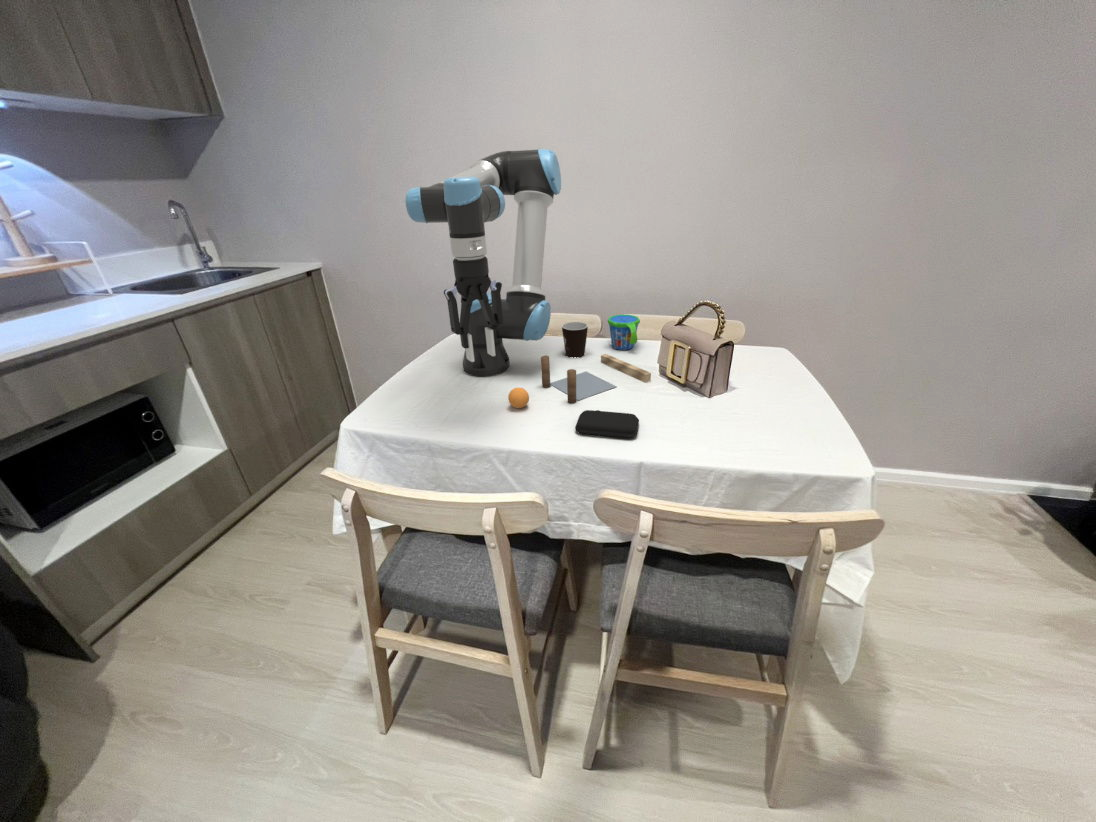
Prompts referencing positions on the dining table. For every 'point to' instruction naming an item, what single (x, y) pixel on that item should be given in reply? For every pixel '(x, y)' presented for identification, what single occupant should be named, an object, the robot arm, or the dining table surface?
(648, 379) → the stopper wall
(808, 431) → the dining table surface
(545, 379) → the left post
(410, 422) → the dining table surface
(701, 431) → the dining table surface
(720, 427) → the dining table surface
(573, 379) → the right post
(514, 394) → the ball
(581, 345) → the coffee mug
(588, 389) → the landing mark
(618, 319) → the snack cup
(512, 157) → the robot arm
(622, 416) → the carrying case or bag
